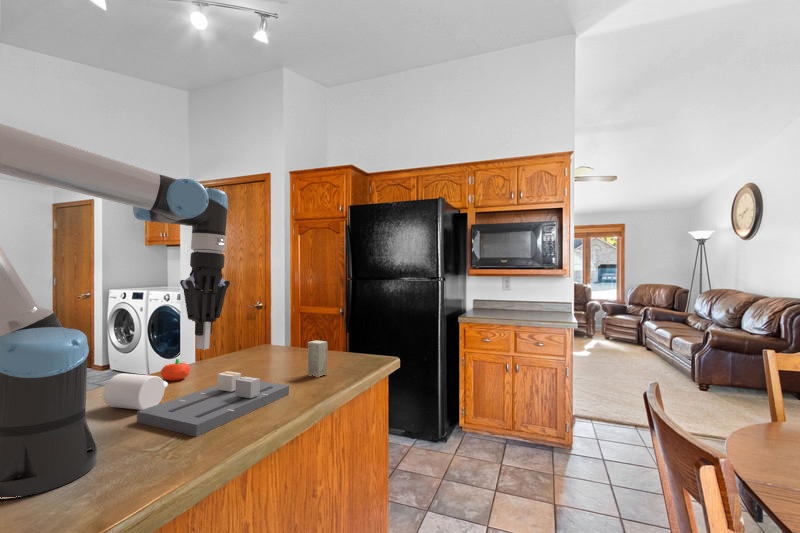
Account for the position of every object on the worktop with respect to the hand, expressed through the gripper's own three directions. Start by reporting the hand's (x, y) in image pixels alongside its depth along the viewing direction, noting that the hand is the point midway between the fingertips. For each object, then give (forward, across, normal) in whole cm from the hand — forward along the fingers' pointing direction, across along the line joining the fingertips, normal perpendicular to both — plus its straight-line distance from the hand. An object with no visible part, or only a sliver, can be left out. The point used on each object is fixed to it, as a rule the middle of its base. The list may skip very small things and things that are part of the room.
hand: (202, 348), depth 94 cm
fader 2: (+12, +7, -8) cm, 16 cm away
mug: (+16, -3, +16) cm, 23 cm away
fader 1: (+12, +9, 0) cm, 15 cm away
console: (+15, +4, -3) cm, 16 cm away
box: (+14, +39, -8) cm, 42 cm away
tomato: (+15, +16, +28) cm, 36 cm away
